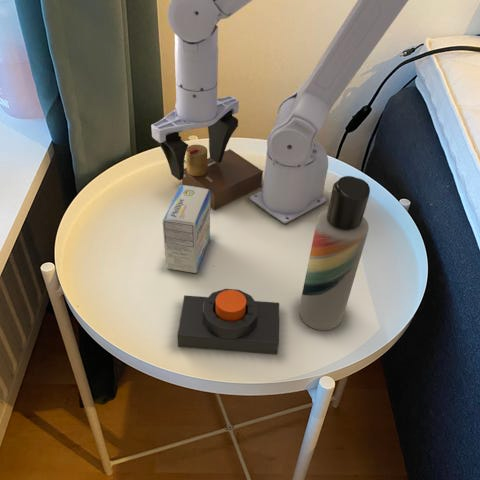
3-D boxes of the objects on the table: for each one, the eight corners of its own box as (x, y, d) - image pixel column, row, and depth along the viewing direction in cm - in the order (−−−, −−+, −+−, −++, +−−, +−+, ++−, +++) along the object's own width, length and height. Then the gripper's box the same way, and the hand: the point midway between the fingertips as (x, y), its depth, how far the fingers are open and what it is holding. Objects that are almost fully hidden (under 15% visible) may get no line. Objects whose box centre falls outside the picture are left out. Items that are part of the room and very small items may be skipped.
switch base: (177, 346, 66) (176, 325, 63) (184, 306, 71) (183, 284, 68) (276, 354, 66) (280, 333, 63) (277, 314, 71) (280, 292, 68)
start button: (214, 320, 65) (214, 310, 63) (216, 298, 67) (217, 288, 66) (244, 323, 65) (245, 313, 63) (246, 300, 67) (247, 290, 66)
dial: (198, 162, 87) (198, 140, 84) (211, 171, 86) (211, 149, 83) (182, 169, 86) (181, 147, 83) (195, 178, 84) (195, 156, 81)
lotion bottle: (320, 292, 74) (351, 162, 59) (351, 318, 71) (392, 188, 56) (289, 311, 71) (313, 179, 56) (319, 338, 68) (353, 208, 53)
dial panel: (221, 159, 94) (222, 142, 91) (261, 187, 89) (263, 170, 87) (164, 184, 88) (163, 167, 86) (204, 215, 83) (204, 198, 81)
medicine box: (196, 275, 75) (196, 224, 68) (165, 269, 75) (161, 218, 68) (210, 238, 80) (211, 188, 73) (180, 233, 80) (179, 182, 74)
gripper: (218, 57, 80) (216, 141, 91) (135, 84, 74) (143, 172, 84) (250, 76, 77) (244, 161, 87) (167, 105, 70) (171, 194, 80)
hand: (196, 167), depth 85 cm, fingers open, 7 cm apart
